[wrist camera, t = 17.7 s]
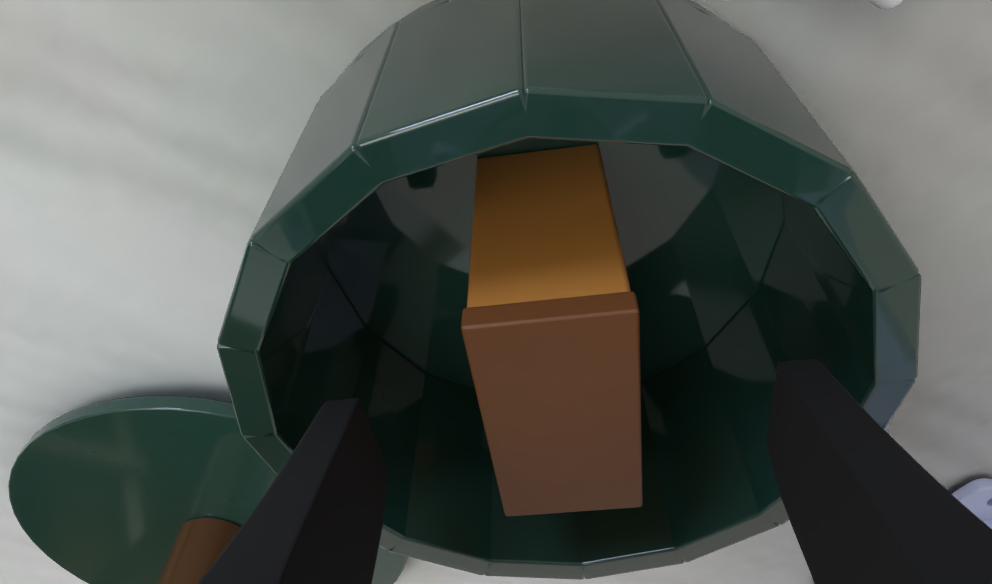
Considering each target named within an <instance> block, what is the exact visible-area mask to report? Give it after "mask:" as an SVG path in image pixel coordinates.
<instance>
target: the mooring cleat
mask: <svg viewBox="0 0 992 584" xmlns="http://www.w3.org/2000/svg"><path fill="white" fill-rule="evenodd" d="M868 1H870V2H871V3H873V4H874V5H875V6H877V7H878V8H881V9H891V8H894V7H896V6H897V5H899V4H900V3H901V2H902V1H903V0H868Z"/></svg>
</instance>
